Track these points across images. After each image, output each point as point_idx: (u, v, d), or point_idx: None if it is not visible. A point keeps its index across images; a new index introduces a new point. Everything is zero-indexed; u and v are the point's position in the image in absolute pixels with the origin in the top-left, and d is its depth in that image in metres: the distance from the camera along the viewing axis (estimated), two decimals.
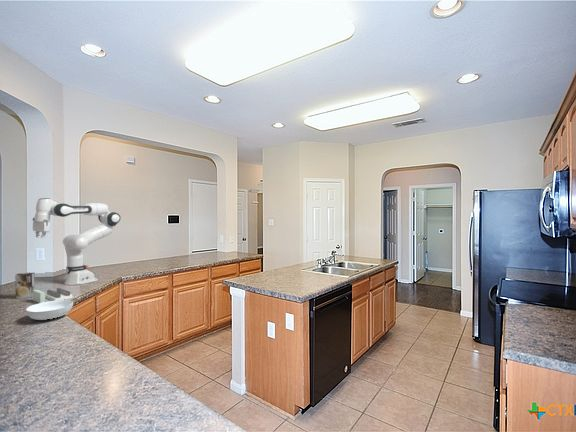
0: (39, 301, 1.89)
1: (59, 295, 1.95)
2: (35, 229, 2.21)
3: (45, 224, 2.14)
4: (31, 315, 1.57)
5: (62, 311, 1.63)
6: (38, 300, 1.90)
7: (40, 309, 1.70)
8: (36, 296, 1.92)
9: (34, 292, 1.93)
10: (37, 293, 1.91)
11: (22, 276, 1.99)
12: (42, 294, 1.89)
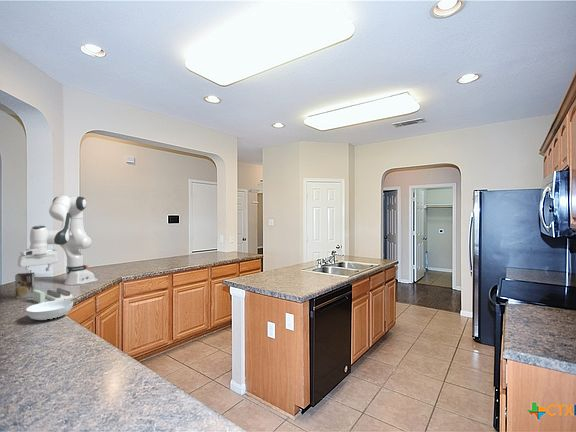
0: (39, 301, 1.89)
1: (59, 295, 1.95)
2: (30, 264, 1.87)
3: None
4: (31, 315, 1.57)
5: (62, 311, 1.63)
6: (38, 300, 1.90)
7: (40, 309, 1.70)
8: (36, 296, 1.92)
9: (34, 292, 1.93)
10: (37, 293, 1.91)
11: (22, 276, 1.99)
12: (42, 294, 1.89)
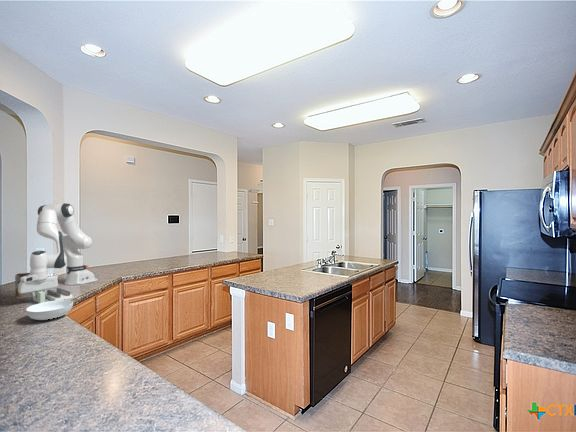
0: (39, 301, 1.89)
1: (59, 295, 1.95)
2: (30, 290, 1.87)
3: None
4: (31, 315, 1.57)
5: (62, 311, 1.63)
6: (38, 300, 1.90)
7: (40, 309, 1.70)
8: None
9: None
10: (37, 293, 1.91)
11: (22, 276, 1.99)
12: (42, 294, 1.89)
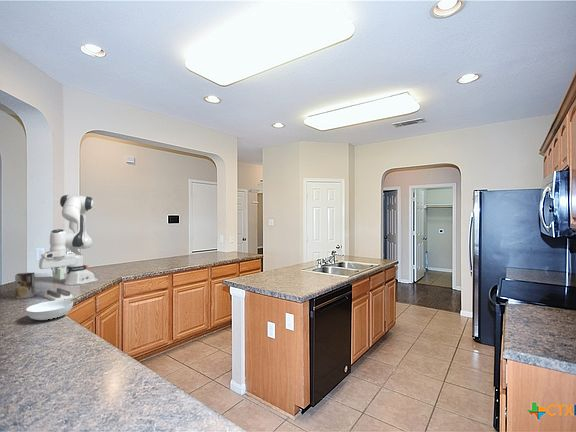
0: (59, 277, 1.98)
1: (59, 295, 1.95)
2: (50, 266, 1.96)
3: None
4: (31, 315, 1.57)
5: (62, 311, 1.63)
6: (58, 276, 1.99)
7: (40, 309, 1.70)
8: None
9: None
10: (57, 269, 2.00)
11: (22, 276, 1.99)
12: (61, 270, 1.98)
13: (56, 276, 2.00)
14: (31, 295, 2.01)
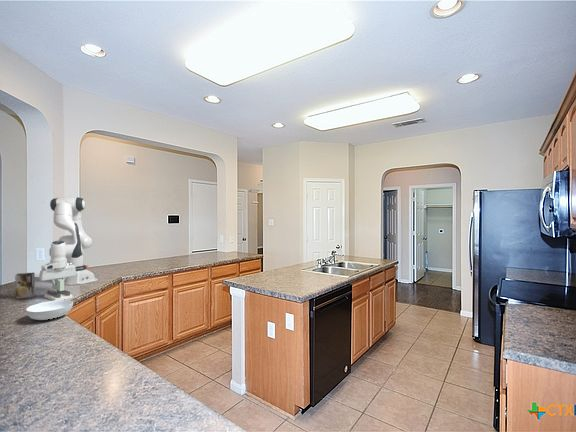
0: (59, 288, 1.98)
1: (59, 295, 1.95)
2: (50, 277, 1.96)
3: None
4: (31, 315, 1.57)
5: (62, 311, 1.63)
6: (58, 287, 1.99)
7: (40, 309, 1.70)
8: None
9: None
10: (57, 281, 2.00)
11: (22, 276, 1.99)
12: (62, 281, 1.98)
13: (56, 288, 2.00)
14: (31, 295, 2.01)
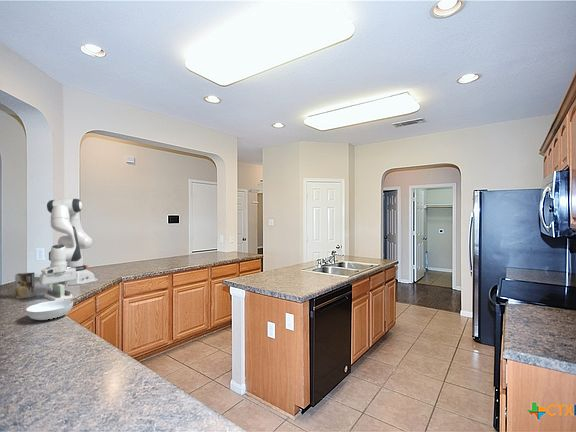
0: None
1: (59, 295, 1.95)
2: (51, 282, 1.97)
3: None
4: (31, 315, 1.57)
5: (62, 311, 1.63)
6: None
7: (40, 309, 1.70)
8: (55, 289, 2.01)
9: (54, 285, 2.03)
10: (57, 286, 2.00)
11: (22, 276, 1.99)
12: (62, 287, 1.99)
13: None
14: (31, 295, 2.01)
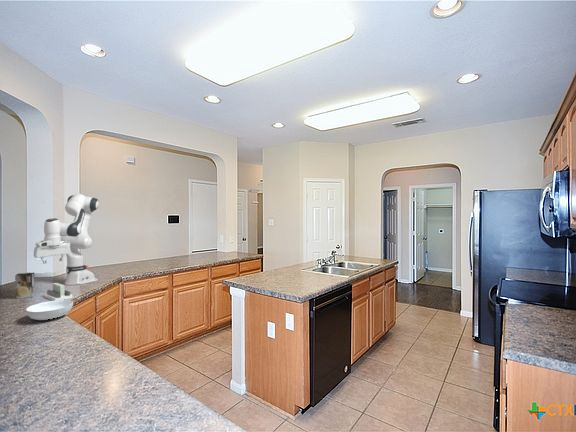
0: None
1: (59, 295, 1.95)
2: (45, 255, 1.97)
3: None
4: (31, 315, 1.57)
5: (62, 311, 1.63)
6: None
7: (40, 309, 1.70)
8: (55, 289, 2.01)
9: (54, 285, 2.03)
10: (57, 286, 2.00)
11: (22, 276, 1.99)
12: (62, 287, 1.99)
13: None
14: (31, 295, 2.01)
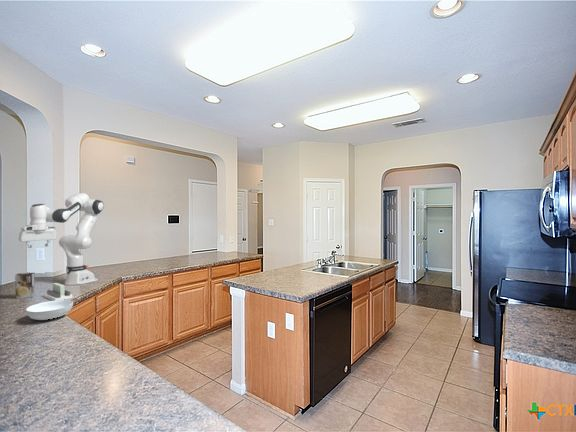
0: None
1: (59, 295, 1.95)
2: (30, 239, 1.99)
3: None
4: (31, 315, 1.57)
5: (62, 311, 1.63)
6: None
7: (40, 309, 1.70)
8: (55, 289, 2.01)
9: (54, 285, 2.03)
10: (57, 286, 2.00)
11: (22, 276, 1.99)
12: (62, 287, 1.99)
13: None
14: (31, 295, 2.01)
